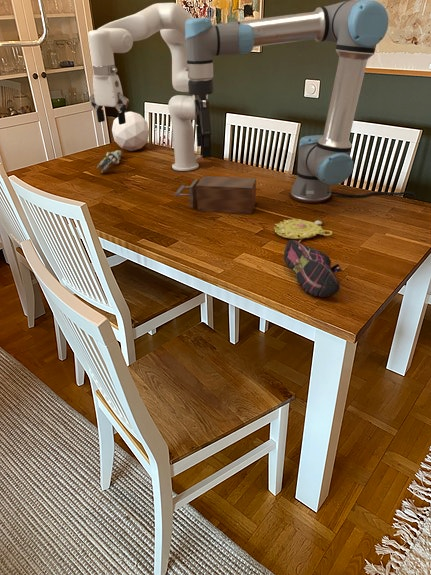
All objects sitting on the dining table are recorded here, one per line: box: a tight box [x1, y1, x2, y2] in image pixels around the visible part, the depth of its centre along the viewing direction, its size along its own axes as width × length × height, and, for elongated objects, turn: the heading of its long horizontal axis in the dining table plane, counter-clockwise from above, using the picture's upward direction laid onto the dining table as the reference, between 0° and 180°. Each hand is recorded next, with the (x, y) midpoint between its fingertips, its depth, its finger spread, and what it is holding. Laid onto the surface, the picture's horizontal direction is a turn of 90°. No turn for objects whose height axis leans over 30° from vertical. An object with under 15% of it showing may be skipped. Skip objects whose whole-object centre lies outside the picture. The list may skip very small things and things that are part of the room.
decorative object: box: [273, 218, 333, 243], centre depth 145 cm, size 21×2×20 cm
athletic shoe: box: [283, 239, 344, 298], centre depth 119 cm, size 11×22×12 cm
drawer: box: [174, 178, 200, 208], centre depth 165 cm, size 25×9×8 cm, turn 77°
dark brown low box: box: [196, 175, 257, 215], centre depth 164 cm, size 20×10×10 cm, turn 77°
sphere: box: [111, 111, 150, 152], centre depth 232 cm, size 19×20×20 cm
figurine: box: [96, 150, 123, 174], centre depth 213 cm, size 7×8×30 cm
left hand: (111, 122), depth 162 cm, fingers open, 9 cm apart
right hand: (203, 151), depth 142 cm, fingers open, 13 cm apart
